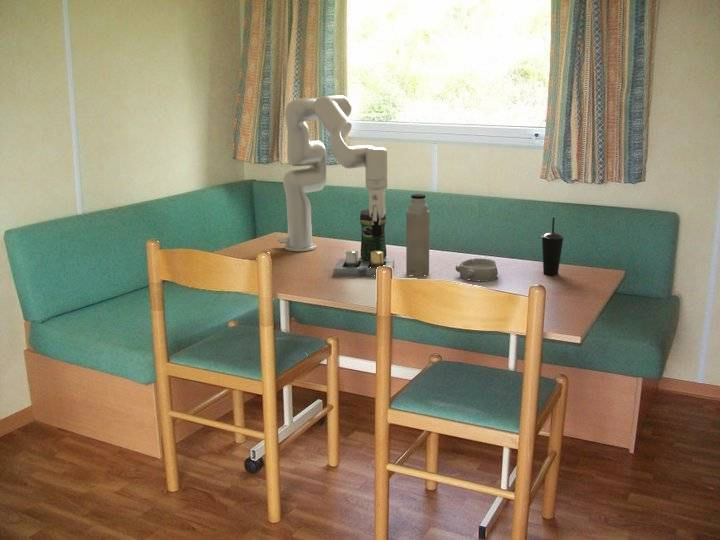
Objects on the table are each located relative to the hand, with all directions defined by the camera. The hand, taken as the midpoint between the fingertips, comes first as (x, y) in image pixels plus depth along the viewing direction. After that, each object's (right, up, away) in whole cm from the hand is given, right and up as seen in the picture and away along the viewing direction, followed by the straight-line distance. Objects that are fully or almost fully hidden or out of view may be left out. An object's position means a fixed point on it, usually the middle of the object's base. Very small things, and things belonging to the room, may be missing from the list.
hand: (376, 235), depth 271 cm
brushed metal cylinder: (-9, -13, +5) cm, 16 cm away
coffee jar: (-1, -8, +22) cm, 23 cm away
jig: (-4, -13, +4) cm, 14 cm away
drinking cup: (+60, -14, -3) cm, 62 cm away
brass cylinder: (0, -13, +4) cm, 13 cm away
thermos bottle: (+14, -14, 0) cm, 20 cm away
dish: (+35, -15, -5) cm, 38 cm away
